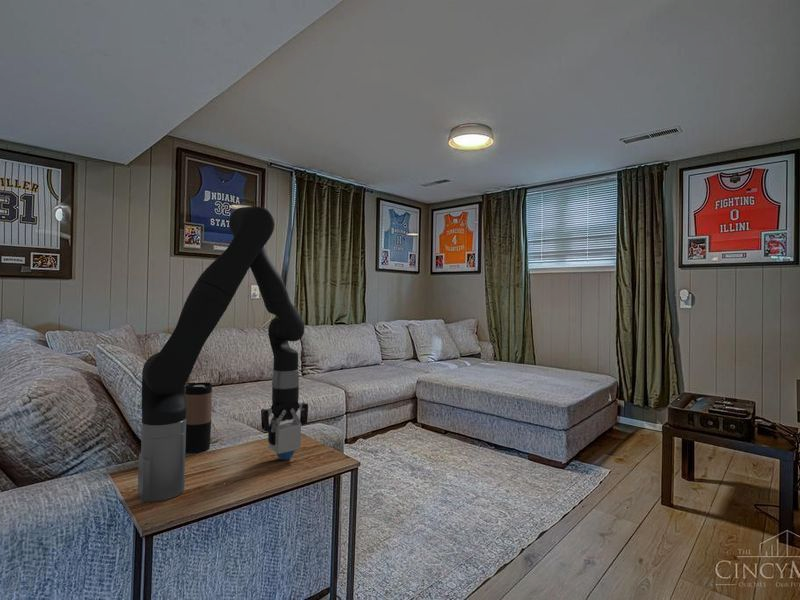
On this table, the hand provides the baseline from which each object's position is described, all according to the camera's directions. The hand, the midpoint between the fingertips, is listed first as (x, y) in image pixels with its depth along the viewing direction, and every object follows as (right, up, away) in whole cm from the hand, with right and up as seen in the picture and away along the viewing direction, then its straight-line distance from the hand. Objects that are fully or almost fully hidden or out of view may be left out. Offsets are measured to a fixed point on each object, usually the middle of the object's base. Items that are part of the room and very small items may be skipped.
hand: (284, 441), depth 123 cm
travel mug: (-29, -5, +7) cm, 30 cm away
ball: (0, -3, 0) cm, 3 cm away
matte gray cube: (0, -2, 0) cm, 2 cm away
